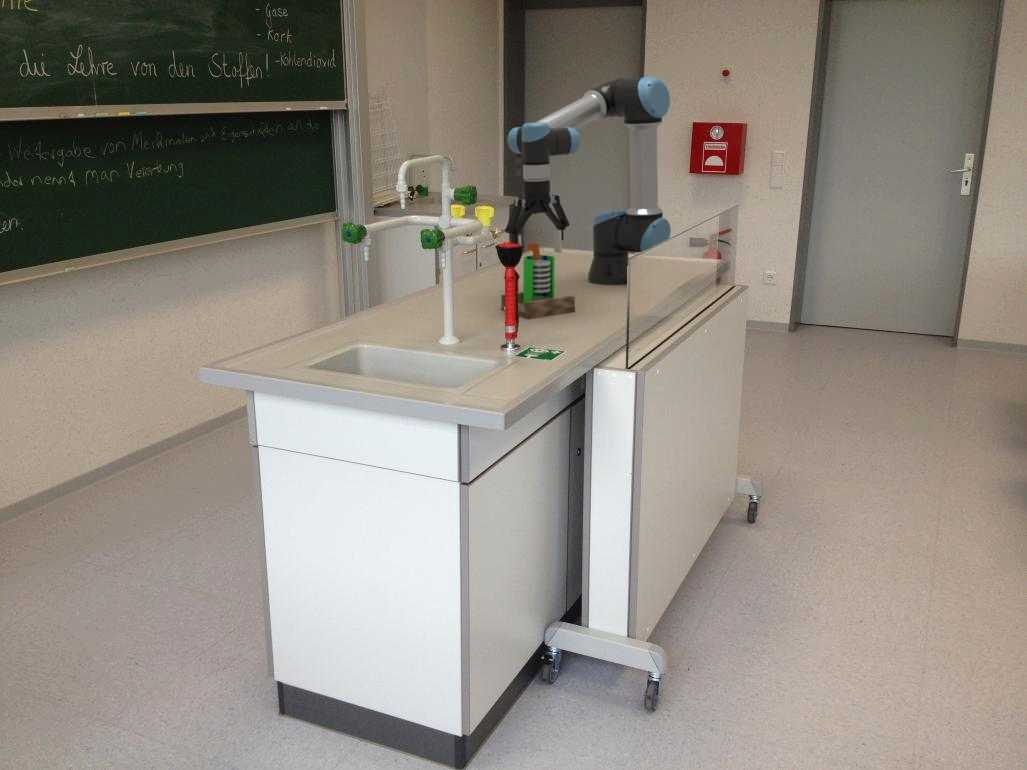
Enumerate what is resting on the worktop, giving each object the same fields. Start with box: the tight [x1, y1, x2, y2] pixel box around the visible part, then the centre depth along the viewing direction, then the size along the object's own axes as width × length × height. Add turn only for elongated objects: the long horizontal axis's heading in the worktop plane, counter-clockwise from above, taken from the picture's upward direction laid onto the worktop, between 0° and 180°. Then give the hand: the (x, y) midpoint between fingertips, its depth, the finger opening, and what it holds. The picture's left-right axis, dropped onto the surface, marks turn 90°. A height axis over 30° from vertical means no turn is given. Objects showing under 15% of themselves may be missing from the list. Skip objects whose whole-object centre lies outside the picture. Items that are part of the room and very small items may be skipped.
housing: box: [500, 291, 576, 320], centre depth 282 cm, size 16×15×4 cm
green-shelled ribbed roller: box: [522, 242, 555, 307], centre depth 280 cm, size 9×8×18 cm
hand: (538, 255), depth 278 cm, fingers open, 13 cm apart
